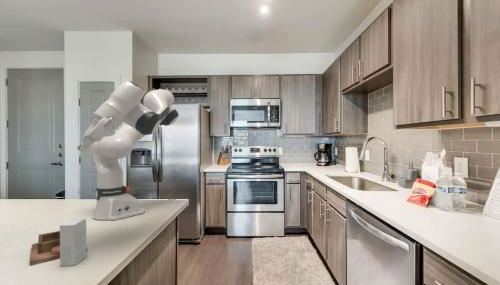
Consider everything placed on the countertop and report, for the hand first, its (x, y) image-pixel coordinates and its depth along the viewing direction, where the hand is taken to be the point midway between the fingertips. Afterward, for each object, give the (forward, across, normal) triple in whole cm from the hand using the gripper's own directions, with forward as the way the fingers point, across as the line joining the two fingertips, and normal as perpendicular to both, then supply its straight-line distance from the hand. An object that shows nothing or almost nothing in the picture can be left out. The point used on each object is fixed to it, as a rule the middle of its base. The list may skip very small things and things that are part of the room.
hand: (80, 150), depth 80 cm
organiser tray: (+30, +6, -15) cm, 34 cm away
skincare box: (+28, -7, -18) cm, 34 cm away
